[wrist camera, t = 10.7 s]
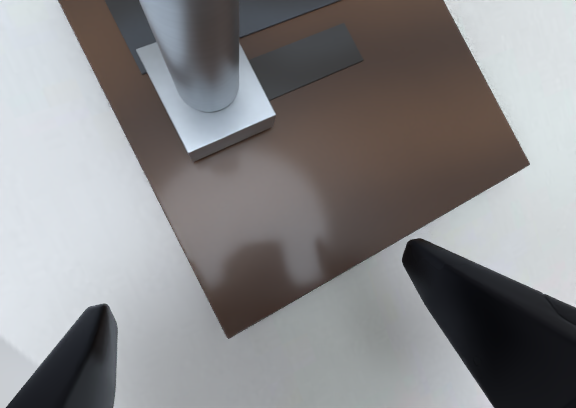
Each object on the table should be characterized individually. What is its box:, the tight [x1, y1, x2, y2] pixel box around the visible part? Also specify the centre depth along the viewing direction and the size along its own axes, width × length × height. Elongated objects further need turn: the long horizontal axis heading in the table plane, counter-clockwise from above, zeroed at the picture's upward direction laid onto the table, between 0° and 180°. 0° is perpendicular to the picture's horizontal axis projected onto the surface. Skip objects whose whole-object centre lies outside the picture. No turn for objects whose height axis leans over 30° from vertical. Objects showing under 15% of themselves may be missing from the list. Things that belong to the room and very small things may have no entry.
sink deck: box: [58, 0, 530, 339], centre depth 17 cm, size 20×20×2 cm
